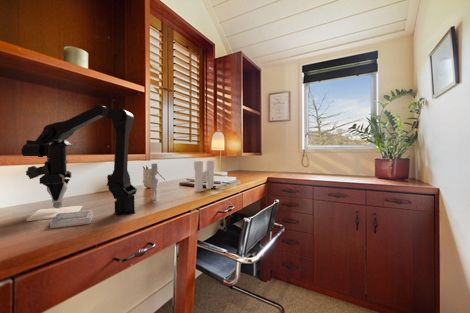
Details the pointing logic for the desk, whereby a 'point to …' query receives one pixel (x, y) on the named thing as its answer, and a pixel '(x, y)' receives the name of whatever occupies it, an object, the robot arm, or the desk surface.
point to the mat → (52, 212)
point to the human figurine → (153, 179)
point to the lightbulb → (58, 203)
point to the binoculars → (204, 175)
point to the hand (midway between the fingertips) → (57, 199)
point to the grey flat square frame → (68, 221)
